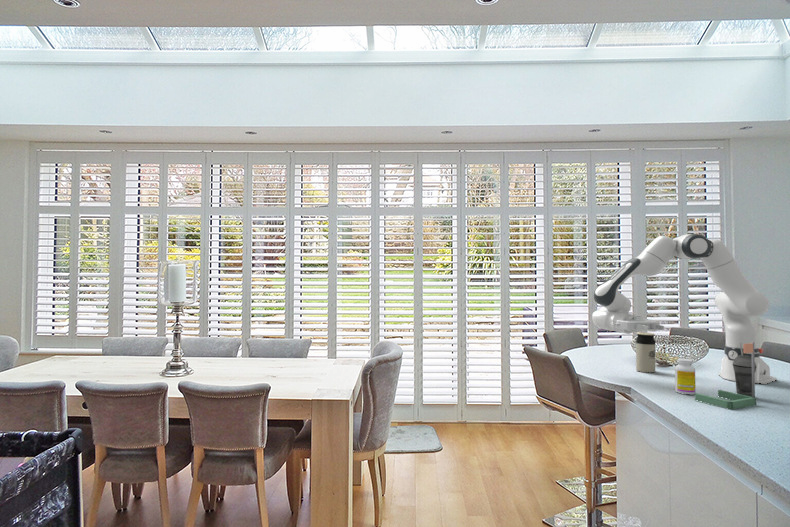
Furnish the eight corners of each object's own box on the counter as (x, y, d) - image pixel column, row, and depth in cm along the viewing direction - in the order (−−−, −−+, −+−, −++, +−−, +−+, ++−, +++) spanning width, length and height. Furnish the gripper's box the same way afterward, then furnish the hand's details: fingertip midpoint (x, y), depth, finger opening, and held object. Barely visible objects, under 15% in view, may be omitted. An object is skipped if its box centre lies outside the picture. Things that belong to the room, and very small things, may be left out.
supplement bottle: (698, 395, 174) (698, 361, 174) (679, 394, 175) (679, 360, 176) (691, 391, 181) (690, 358, 181) (672, 390, 182) (672, 357, 182)
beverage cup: (750, 400, 169) (750, 345, 169) (728, 395, 175) (728, 342, 176) (760, 397, 172) (760, 343, 172) (739, 393, 178) (738, 341, 179)
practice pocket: (720, 396, 173) (719, 337, 174) (756, 405, 162) (755, 342, 163) (695, 400, 167) (694, 339, 168) (730, 409, 156) (730, 344, 157)
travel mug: (632, 369, 222) (632, 332, 222) (648, 369, 222) (647, 332, 223) (643, 373, 214) (643, 334, 214) (659, 373, 215) (659, 334, 215)
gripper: (609, 315, 198) (639, 320, 185) (641, 316, 207) (671, 320, 194) (609, 330, 198) (638, 336, 185) (640, 330, 207) (670, 335, 194)
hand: (655, 328), depth 190 cm, fingers open, 8 cm apart
